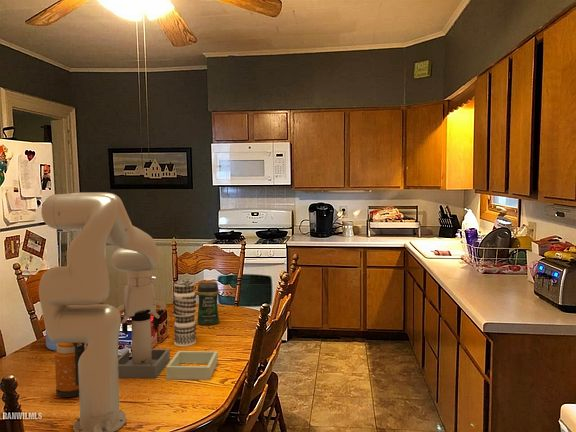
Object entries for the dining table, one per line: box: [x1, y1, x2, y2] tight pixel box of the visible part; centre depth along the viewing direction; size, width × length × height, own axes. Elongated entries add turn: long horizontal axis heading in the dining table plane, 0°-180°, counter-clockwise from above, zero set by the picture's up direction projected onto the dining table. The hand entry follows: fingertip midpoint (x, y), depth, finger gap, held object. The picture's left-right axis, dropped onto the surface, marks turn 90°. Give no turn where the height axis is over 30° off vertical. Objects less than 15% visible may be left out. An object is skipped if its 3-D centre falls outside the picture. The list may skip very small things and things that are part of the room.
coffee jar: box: [196, 281, 220, 326], centre depth 201 cm, size 10×8×19 cm
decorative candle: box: [172, 278, 197, 347], centre depth 175 cm, size 9×9×25 cm
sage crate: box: [165, 350, 219, 381], centre depth 149 cm, size 14×14×4 cm
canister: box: [54, 343, 88, 398], centre depth 132 cm, size 9×11×20 cm
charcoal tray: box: [118, 348, 171, 379], centre depth 151 cm, size 15×15×4 cm
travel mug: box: [130, 310, 152, 365], centre depth 150 cm, size 6×7×20 cm
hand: (140, 331), depth 150 cm, fingers open, 9 cm apart
